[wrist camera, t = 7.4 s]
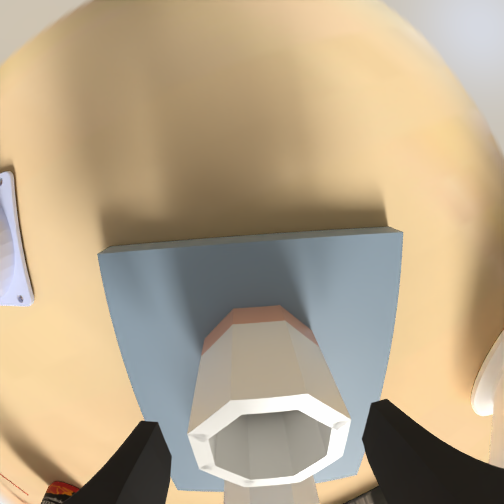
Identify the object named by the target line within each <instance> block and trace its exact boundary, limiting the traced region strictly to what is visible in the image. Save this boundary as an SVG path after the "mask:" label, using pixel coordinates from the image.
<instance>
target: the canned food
mask: <svg viewBox="0 0 504 504" xmlns="http://www.w3.org/2000/svg"><path fill="white" fill-rule="evenodd" d="M78 490H80V489H79V488H77V487H75V486H72V485H70V484H67V483H64V482H58V481H56V482H53V483H52V484H51V485H50V486H49V487H48V489H47V491H46V493H45V496H44V498H43V500H42V502H41V504H61V503H63V502H64V501H65V500H67V499H68V498H70V497H71V496H72V495H73V494H75V493H76V492H77V491H78Z"/></svg>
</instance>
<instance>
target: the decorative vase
mask: <svg viewBox="0 0 504 504" xmlns="http://www.w3.org/2000/svg"><path fill="white" fill-rule="evenodd" d="M471 406H472V408H473V410H474V411H475V412H476V413H477V414H478V415H481V416H487V415H490V414H493V418H492V430H491V440H490V450H489V464H491V465H494V466H497V467H500V468H504V330H503V331H502V333H501V334H500V336H499V337H498V339H497V340H496V342H495V343H494V345H493V346H492V348H491V350H490V351H489V353H488V355H487V357H486V359H485V360H484V362H483V364H482V366H481V368H480V371H479V373H478V375H477V378H476V380H475V383H474V386H473V389H472V394H471Z"/></svg>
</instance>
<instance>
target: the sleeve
mask: <svg viewBox="0 0 504 504" xmlns="http://www.w3.org/2000/svg"><path fill="white" fill-rule="evenodd" d="M350 423H351V417H350V415H349V413H348V410H347V408H346V406H345V404H344V401H343V399H342V397H341V394H340V392H339V390H338V388H337V385H336V383H335V381H334V379H333V376H332V374H331V372H330V370H329V367H328V365H327V363H326V361H325V358H324V356H323V354H322V352H321V349H320V347H319V345H318V343H317V341H316V338H315V336H314V334H313V332H312V330H311V329H309V328H308V327H307V326H306V325H304V324H303V323H302V322H301V321H299V320H298V319H297V318H296V317H294V316H293V315H292V314H291V313H289V312H288V311H287V310H286V309H284V308H283V307H282V306H281V305H275V306H263V307H249V308H233V309H232V311H231V312H230V313H229V314H228V315H227V316H226V317H225V318H224V319H223V320H222V321H221V322H220V323H219V324H218V325H217V326H216V327H215V328H214V329H213V330H212V331H211V332H210V334H209V335H208V336H207V337H206V338H205V339H204V344H203V349H202V354H201V360H200V365H199V370H198V376H197V381H196V386H195V392H194V397H193V403H192V409H191V414H190V420H189V426H188V432H187V435H188V438H189V441H190V444H191V447H192V450H193V453H194V456H195V459H196V461H197V464H198V467H199V469H200V470H202V471H205V472H207V473H209V474H212V475H214V476H217V477H219V478H222V479H224V480H227V481H229V482H232V483H234V484H237V485H240V486H243V487H258V486H271V485H281V484H290V483H297V482H301V481H303V480H305V479H306V478H308V477H310V476H311V475H313V474H315V473H317V472H318V471H320V470H321V469H323V468H325V467H326V466H328V465H330V464H331V463H333V462H334V461H336V460H337V459H339V458H340V457H342V456H343V452H344V448H345V444H346V440H347V436H348V432H349V427H350Z"/></svg>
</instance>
